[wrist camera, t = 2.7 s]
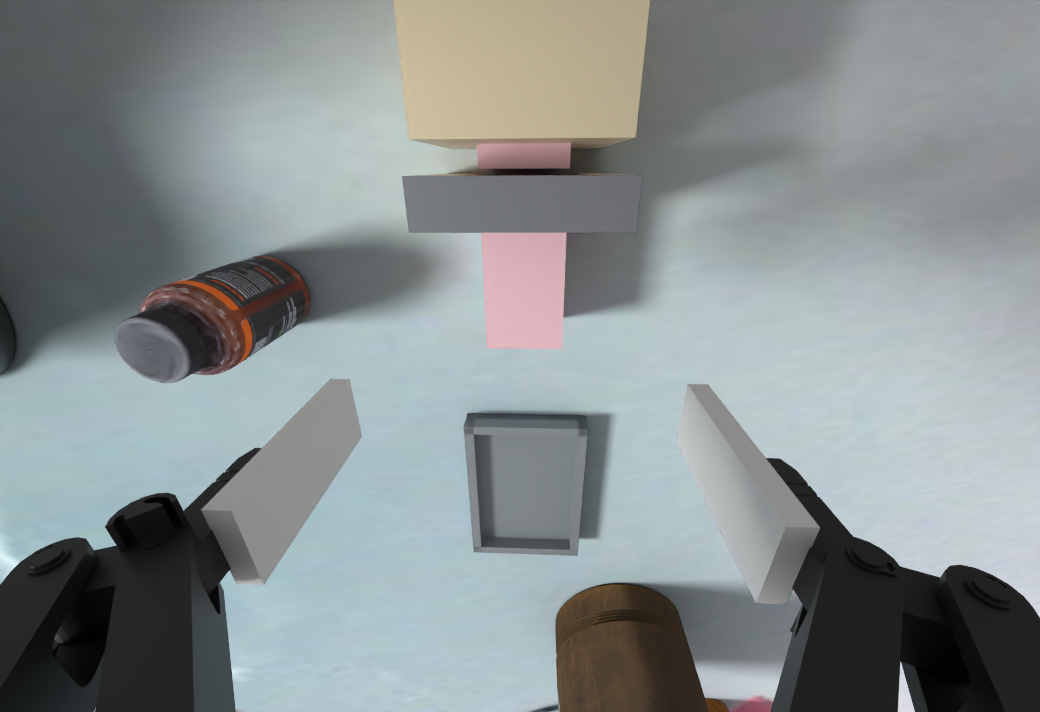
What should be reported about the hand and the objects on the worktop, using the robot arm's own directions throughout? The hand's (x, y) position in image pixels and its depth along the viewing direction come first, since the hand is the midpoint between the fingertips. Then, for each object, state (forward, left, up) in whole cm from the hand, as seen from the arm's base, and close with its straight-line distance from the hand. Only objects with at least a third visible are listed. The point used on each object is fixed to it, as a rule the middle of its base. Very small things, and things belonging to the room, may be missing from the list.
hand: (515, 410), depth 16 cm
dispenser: (0, +12, -17) cm, 21 cm away
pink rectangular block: (0, +3, -17) cm, 17 cm away
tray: (0, -19, -17) cm, 25 cm away
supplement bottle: (-20, 0, -17) cm, 26 cm away
